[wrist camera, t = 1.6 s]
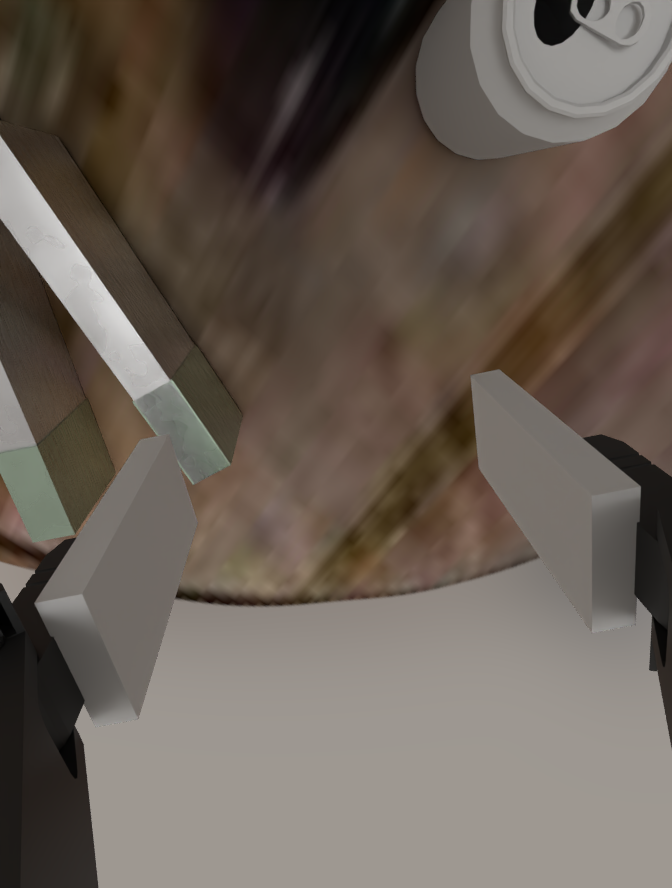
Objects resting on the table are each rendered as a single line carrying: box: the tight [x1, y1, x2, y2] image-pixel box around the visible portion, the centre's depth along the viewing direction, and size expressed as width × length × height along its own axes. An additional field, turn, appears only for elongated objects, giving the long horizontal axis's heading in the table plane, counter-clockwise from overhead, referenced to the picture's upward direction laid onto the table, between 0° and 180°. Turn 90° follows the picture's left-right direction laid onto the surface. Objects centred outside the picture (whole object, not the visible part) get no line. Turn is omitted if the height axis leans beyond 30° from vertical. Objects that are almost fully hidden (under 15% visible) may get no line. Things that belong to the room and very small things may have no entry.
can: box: [416, 0, 672, 160], centre depth 23 cm, size 8×8×12 cm
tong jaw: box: [0, 121, 243, 485], centre depth 28 cm, size 17×2×7 cm, turn 28°
